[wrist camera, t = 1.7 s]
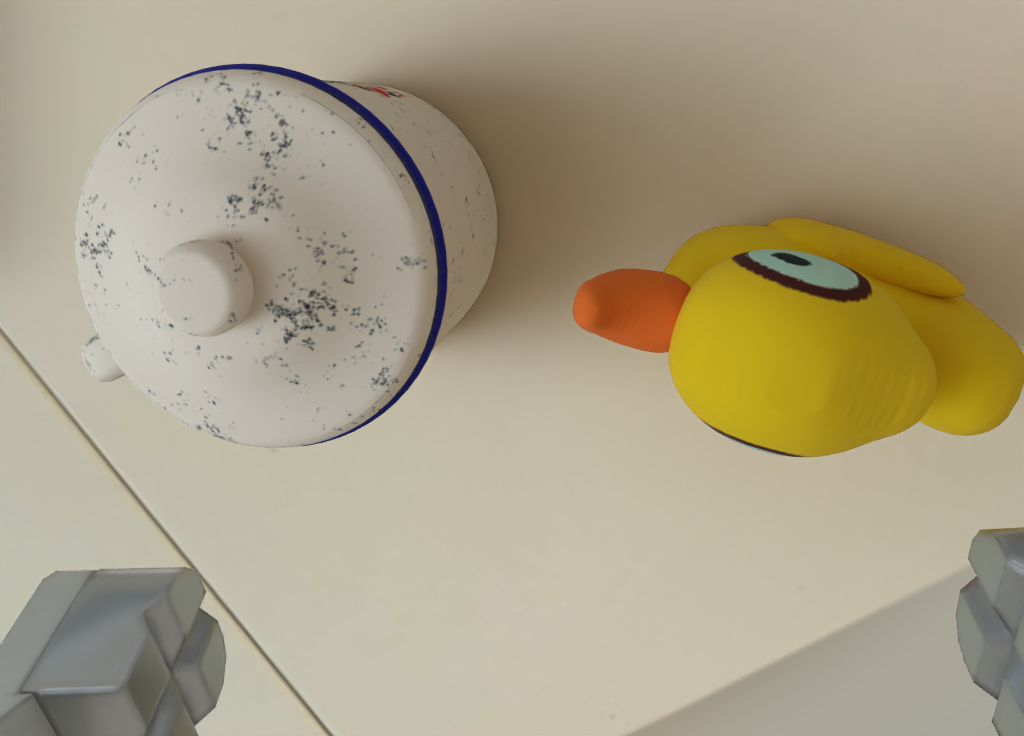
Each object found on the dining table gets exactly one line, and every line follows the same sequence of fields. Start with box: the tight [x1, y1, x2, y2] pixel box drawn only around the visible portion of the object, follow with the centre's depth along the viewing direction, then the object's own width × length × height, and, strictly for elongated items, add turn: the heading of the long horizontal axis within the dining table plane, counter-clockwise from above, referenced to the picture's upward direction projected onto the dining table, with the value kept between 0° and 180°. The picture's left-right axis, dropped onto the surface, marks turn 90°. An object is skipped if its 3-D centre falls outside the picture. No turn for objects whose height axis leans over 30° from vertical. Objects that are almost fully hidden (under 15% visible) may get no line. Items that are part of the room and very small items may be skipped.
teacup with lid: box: [75, 64, 498, 448], centre depth 24 cm, size 12×9×12 cm
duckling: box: [573, 218, 1024, 457], centre depth 23 cm, size 11×5×10 cm, turn 76°
